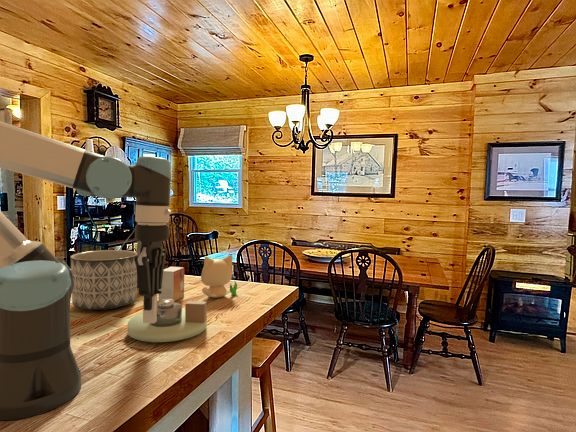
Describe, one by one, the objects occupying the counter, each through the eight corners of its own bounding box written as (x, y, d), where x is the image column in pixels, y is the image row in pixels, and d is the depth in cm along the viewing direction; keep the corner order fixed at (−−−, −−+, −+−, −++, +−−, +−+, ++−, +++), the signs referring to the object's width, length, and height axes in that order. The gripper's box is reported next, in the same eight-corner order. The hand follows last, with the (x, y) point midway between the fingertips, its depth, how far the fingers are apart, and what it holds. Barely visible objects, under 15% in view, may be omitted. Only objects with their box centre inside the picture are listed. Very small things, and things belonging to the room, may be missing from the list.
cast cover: (174, 327, 93) (174, 306, 93) (144, 325, 94) (144, 304, 93) (186, 317, 101) (186, 297, 100) (158, 315, 102) (158, 296, 101)
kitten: (230, 290, 141) (231, 251, 140) (243, 297, 132) (243, 255, 132) (192, 295, 132) (193, 254, 131) (203, 303, 124) (203, 258, 123)
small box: (173, 302, 124) (173, 271, 123) (158, 301, 125) (158, 270, 124) (184, 296, 132) (184, 267, 131) (170, 295, 133) (170, 266, 132)
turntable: (193, 344, 88) (193, 315, 88) (112, 340, 89) (111, 311, 89) (214, 316, 108) (215, 292, 108) (147, 313, 109) (148, 290, 109)
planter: (77, 299, 125) (76, 250, 124) (138, 295, 132) (138, 249, 131) (65, 317, 107) (64, 261, 106) (136, 311, 114) (136, 258, 113)
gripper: (156, 226, 80) (153, 333, 82) (177, 222, 93) (174, 314, 95) (123, 224, 81) (120, 330, 82) (148, 221, 94) (146, 312, 95)
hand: (149, 322), depth 88 cm, fingers closed
